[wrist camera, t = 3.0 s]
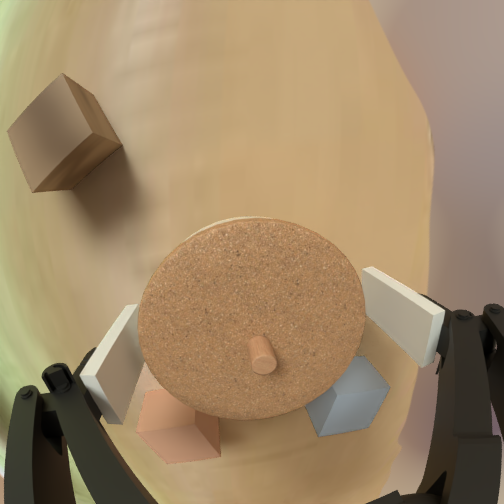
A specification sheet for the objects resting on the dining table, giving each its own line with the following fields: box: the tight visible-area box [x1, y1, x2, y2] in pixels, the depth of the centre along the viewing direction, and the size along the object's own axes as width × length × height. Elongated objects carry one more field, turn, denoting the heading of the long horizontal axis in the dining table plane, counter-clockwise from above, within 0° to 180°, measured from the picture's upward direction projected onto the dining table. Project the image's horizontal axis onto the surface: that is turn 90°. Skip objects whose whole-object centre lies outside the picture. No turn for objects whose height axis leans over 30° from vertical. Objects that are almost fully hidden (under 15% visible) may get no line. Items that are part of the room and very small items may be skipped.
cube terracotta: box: [136, 389, 221, 464], centre depth 19 cm, size 5×5×5 cm
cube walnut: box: [7, 73, 122, 193], centre depth 13 cm, size 5×5×5 cm
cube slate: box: [305, 356, 390, 437], centre depth 20 cm, size 5×5×5 cm
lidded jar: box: [137, 216, 366, 420], centre depth 14 cm, size 11×11×9 cm
